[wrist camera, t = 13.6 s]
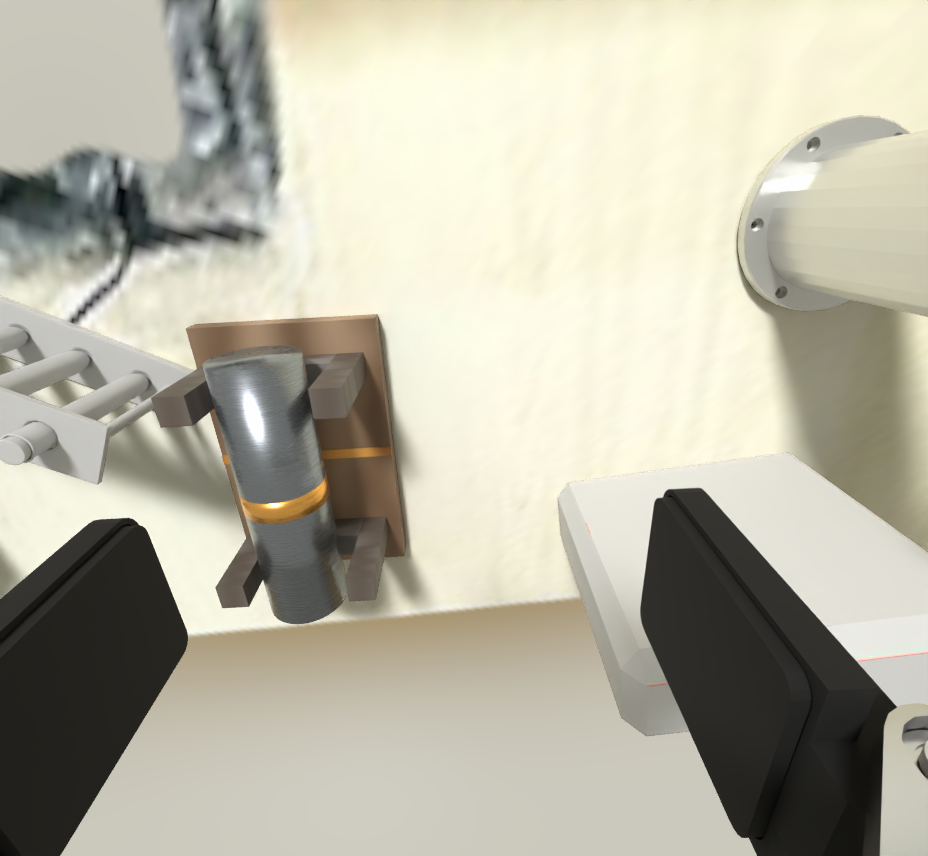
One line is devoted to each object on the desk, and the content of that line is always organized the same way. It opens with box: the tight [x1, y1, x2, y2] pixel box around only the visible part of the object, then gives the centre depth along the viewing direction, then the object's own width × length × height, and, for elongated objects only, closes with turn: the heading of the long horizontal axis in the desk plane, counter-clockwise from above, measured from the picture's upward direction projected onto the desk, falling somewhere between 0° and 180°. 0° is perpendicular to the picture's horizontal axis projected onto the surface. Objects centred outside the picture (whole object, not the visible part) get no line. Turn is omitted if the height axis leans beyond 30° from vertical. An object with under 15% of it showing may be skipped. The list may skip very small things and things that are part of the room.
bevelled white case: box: [558, 452, 928, 736], centre depth 35 cm, size 21×8×20 cm, turn 98°
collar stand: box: [151, 314, 406, 608], centre depth 37 cm, size 14×22×10 cm, turn 3°
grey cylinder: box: [202, 345, 347, 624], centre depth 35 cm, size 6×20×6 cm, turn 3°
